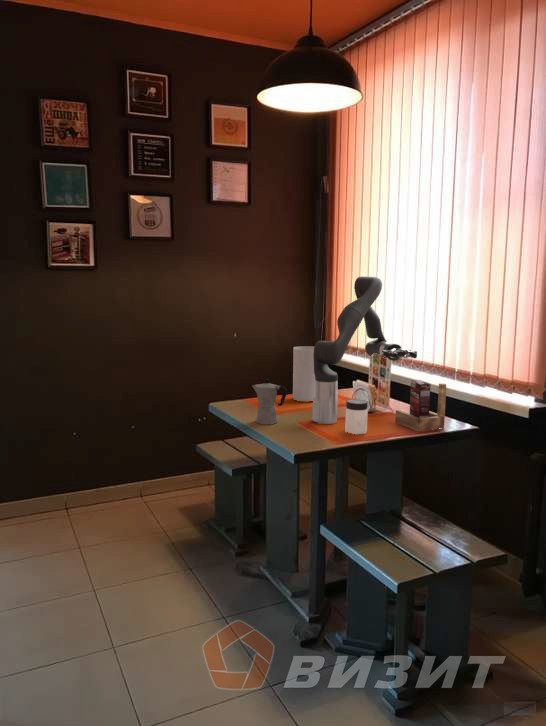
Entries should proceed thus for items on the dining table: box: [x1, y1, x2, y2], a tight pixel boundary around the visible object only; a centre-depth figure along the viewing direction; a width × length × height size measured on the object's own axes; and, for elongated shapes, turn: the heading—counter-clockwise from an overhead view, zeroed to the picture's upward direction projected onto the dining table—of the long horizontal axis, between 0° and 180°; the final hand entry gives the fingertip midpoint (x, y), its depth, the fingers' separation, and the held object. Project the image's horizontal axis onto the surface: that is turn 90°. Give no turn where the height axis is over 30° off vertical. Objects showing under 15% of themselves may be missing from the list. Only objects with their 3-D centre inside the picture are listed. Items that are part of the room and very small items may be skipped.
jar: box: [344, 398, 369, 435], centre depth 232 cm, size 9×8×12 cm
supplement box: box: [409, 379, 431, 418], centre depth 241 cm, size 9×5×16 cm, turn 13°
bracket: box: [394, 382, 447, 432], centre depth 241 cm, size 12×16×18 cm
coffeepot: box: [251, 378, 288, 425], centre depth 245 cm, size 15×9×18 cm, turn 67°
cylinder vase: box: [292, 345, 315, 402], centre depth 286 cm, size 12×12×25 cm
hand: (406, 355), depth 251 cm, fingers open, 8 cm apart
